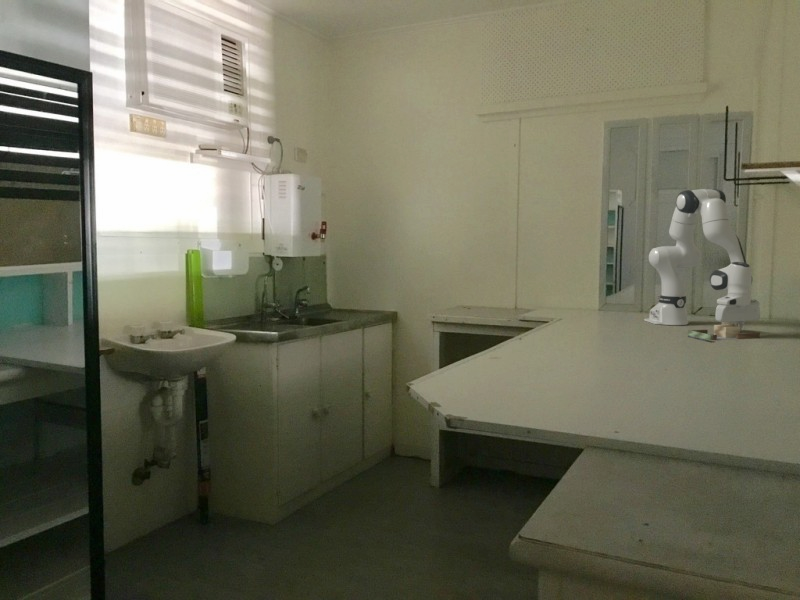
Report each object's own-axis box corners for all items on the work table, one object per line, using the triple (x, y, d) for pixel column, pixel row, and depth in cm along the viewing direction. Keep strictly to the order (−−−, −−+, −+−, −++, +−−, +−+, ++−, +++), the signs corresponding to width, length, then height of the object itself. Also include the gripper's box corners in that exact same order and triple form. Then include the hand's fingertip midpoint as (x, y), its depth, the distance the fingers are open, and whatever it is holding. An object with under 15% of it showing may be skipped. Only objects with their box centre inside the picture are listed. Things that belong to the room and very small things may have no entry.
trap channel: (687, 337, 271) (688, 330, 271) (734, 335, 276) (735, 328, 276) (710, 342, 258) (710, 335, 257) (759, 340, 263) (759, 333, 262)
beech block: (713, 335, 269) (713, 325, 269) (727, 334, 271) (727, 324, 271) (725, 337, 263) (725, 327, 262) (739, 337, 264) (739, 326, 264)
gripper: (753, 298, 272) (751, 329, 273) (713, 299, 267) (712, 331, 269) (764, 300, 266) (763, 331, 267) (724, 301, 261) (722, 333, 263)
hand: (737, 331), depth 268 cm, fingers closed
